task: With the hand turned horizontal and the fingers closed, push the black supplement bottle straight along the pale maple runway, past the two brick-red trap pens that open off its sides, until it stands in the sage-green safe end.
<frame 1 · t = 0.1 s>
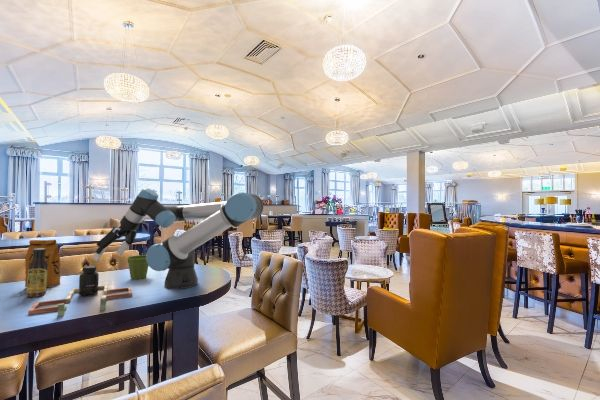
hand: (107, 256, 134), 15 cm above the table, tool tilted 35°, fingers open, 13 cm apart
runway: (86, 300, 119), on the table
supplement bottle: (88, 295, 127), on the table
coffee package: (43, 286, 140), on the table
sauce bottle: (36, 295, 125), on the table
plant pot: (138, 278, 155), on the table
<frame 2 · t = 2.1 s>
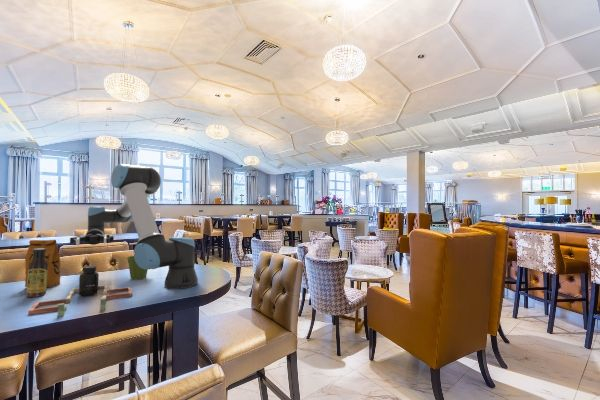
hand: (91, 241, 134), 22 cm above the table, tool horizontal, fingers open, 10 cm apart
nothing on the table moved.
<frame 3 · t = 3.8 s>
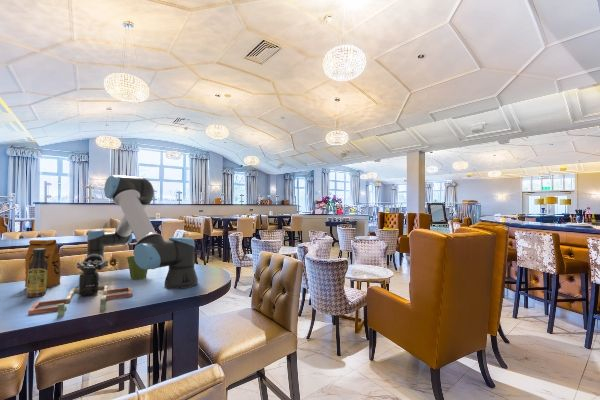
hand: (90, 271, 133), 9 cm above the table, tool horizontal, fingers closed
nothing on the table moved.
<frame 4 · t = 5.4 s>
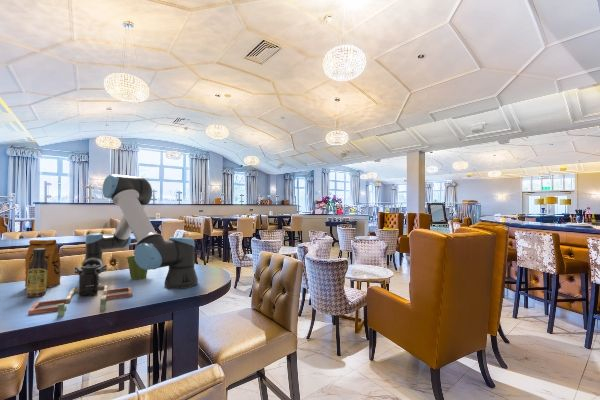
hand: (87, 275, 129), 7 cm above the table, tool horizontal, fingers closed
supplement bottle: (88, 295, 126), on the table, touching gripper
everything else where it was.
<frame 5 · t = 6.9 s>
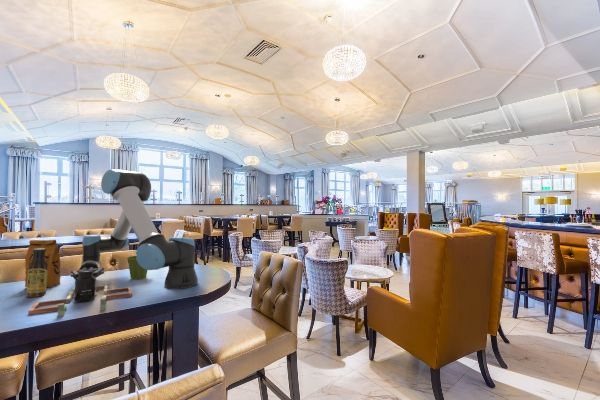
hand: (83, 279, 122), 8 cm above the table, tool horizontal, fingers closed
supplement bottle: (85, 300, 119), on the table, touching gripper
everything else where it was.
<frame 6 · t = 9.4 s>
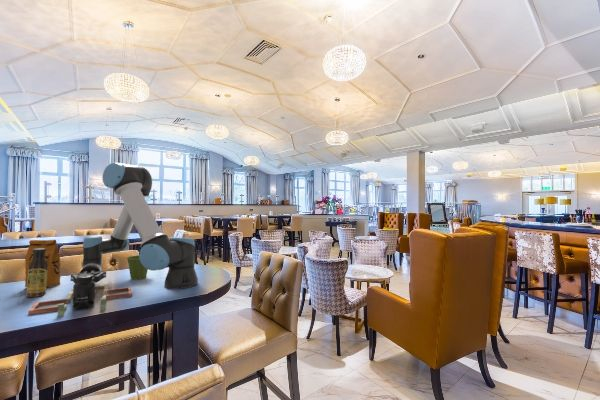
hand: (85, 284, 114), 8 cm above the table, tool horizontal, fingers closed
supplement bottle: (84, 307, 111), on the table, touching gripper
everything else where it was.
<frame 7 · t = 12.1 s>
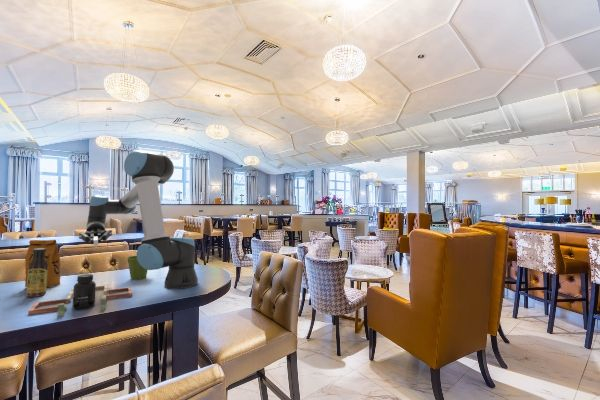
hand: (95, 243, 123), 23 cm above the table, tool horizontal, fingers closed
supplement bottle: (84, 307, 111), on the table
everything else where it was.
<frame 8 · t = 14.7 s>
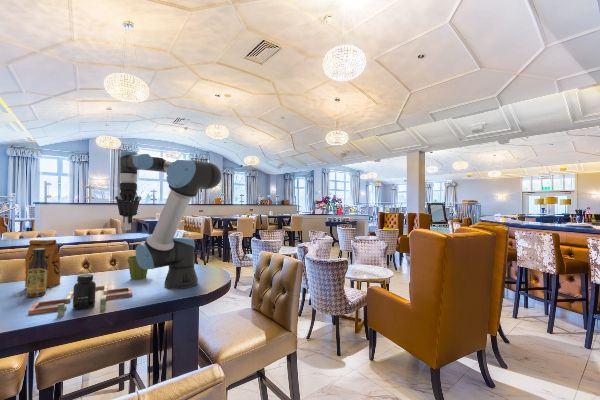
hand: (127, 229, 146), 26 cm above the table, tool pointing down, fingers closed
nothing on the table moved.
at the end: supplement bottle inside the target area (0.5 cm from its centre), on the table; supplement bottle tilted 0°; supplement bottle moved 18.2 cm from its start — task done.
